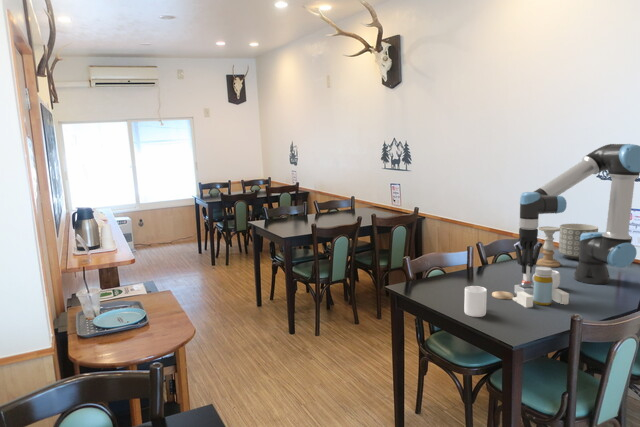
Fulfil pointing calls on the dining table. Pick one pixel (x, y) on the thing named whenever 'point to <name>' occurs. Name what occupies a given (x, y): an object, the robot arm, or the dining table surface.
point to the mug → (554, 279)
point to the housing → (526, 296)
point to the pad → (502, 295)
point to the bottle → (543, 286)
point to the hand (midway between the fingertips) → (526, 280)
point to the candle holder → (548, 248)
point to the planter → (573, 238)
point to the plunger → (526, 284)
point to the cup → (475, 301)
